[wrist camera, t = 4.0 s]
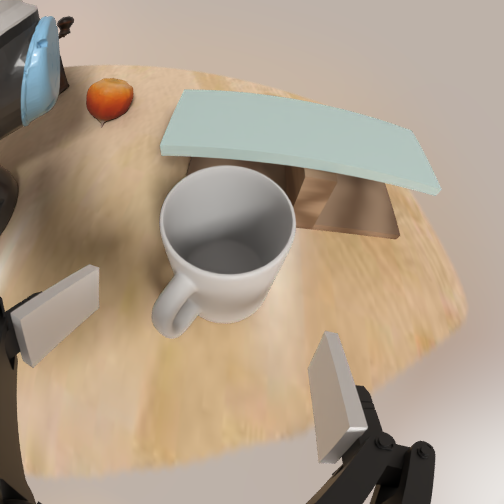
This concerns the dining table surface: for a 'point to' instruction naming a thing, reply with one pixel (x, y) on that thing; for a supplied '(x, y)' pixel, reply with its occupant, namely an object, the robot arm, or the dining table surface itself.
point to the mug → (221, 246)
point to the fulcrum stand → (324, 197)
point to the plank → (296, 137)
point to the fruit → (109, 99)
